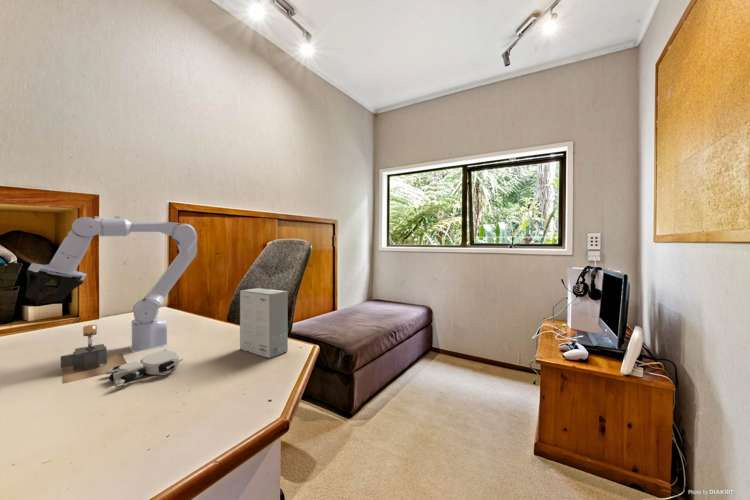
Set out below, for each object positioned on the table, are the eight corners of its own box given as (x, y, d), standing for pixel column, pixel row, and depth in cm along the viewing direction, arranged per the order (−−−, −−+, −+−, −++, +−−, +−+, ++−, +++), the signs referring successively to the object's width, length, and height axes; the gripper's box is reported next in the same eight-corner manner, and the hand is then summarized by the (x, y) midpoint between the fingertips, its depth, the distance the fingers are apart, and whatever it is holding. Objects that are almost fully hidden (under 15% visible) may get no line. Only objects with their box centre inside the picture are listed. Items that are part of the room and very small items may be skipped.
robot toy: (117, 397, 72) (186, 371, 84) (115, 378, 72) (185, 355, 83) (104, 382, 79) (169, 360, 91) (102, 365, 79) (168, 346, 91)
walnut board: (120, 353, 97) (120, 351, 97) (129, 370, 84) (129, 368, 84) (62, 364, 88) (62, 363, 88) (62, 385, 75) (62, 383, 75)
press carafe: (105, 359, 91) (105, 343, 91) (108, 365, 86) (107, 348, 86) (60, 367, 84) (60, 350, 84) (60, 375, 79) (60, 357, 79)
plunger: (100, 347, 89) (100, 323, 89) (102, 351, 86) (102, 326, 86) (77, 351, 86) (77, 326, 86) (78, 356, 83) (78, 329, 82)
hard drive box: (288, 351, 100) (288, 291, 100) (269, 359, 93) (269, 294, 93) (258, 343, 108) (258, 287, 108) (238, 349, 102) (238, 289, 101)
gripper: (80, 256, 98) (57, 297, 94) (31, 244, 84) (1, 291, 80) (100, 263, 97) (77, 304, 94) (53, 252, 83) (24, 300, 80)
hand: (43, 299), depth 87 cm, fingers open, 7 cm apart
